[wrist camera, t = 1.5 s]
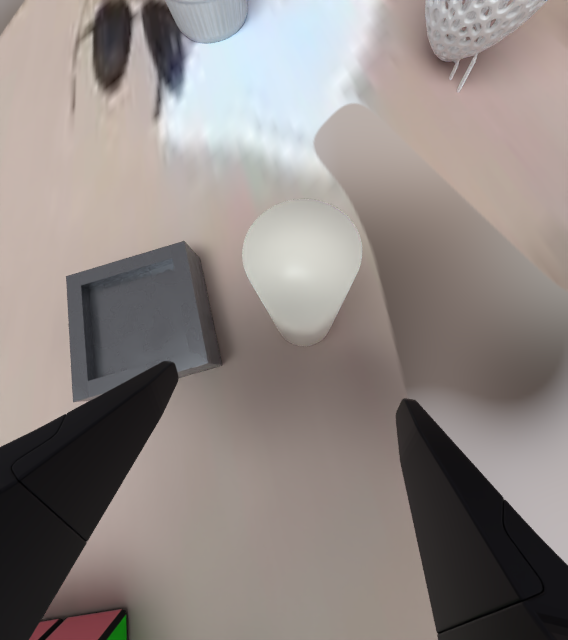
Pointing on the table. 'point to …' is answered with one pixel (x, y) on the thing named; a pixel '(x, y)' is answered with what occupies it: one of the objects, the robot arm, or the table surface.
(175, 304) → the gray square base
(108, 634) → the puzzle cube
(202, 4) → the ramekin
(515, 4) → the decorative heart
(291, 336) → the off-white cylinder
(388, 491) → the table surface
